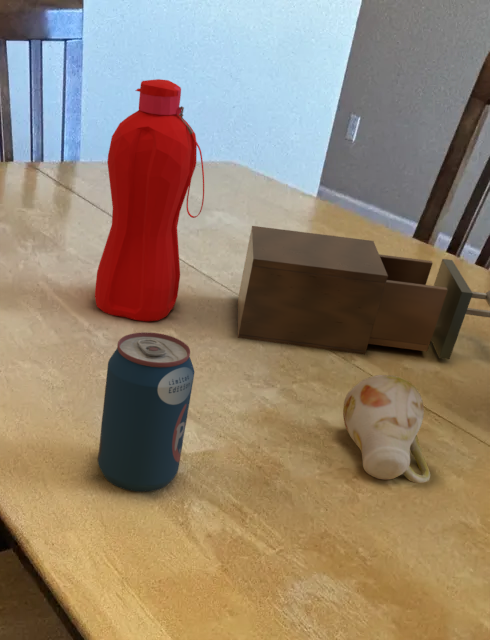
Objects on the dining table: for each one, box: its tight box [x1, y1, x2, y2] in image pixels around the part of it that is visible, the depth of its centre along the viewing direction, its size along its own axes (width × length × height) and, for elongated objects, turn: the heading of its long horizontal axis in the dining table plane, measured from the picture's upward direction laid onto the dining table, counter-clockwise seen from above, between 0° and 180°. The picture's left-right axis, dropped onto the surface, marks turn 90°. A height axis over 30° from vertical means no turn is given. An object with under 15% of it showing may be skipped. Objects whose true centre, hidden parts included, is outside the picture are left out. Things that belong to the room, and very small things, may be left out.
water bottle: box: [94, 78, 205, 323], centre depth 99 cm, size 9×11×25 cm
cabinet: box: [237, 225, 388, 356], centre depth 103 cm, size 15×13×10 cm
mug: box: [342, 374, 431, 484], centre depth 80 cm, size 8×10×10 cm
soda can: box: [97, 331, 195, 493], centre depth 72 cm, size 7×7×12 cm
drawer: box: [368, 253, 490, 360], centre depth 102 cm, size 19×11×8 cm, turn 82°
